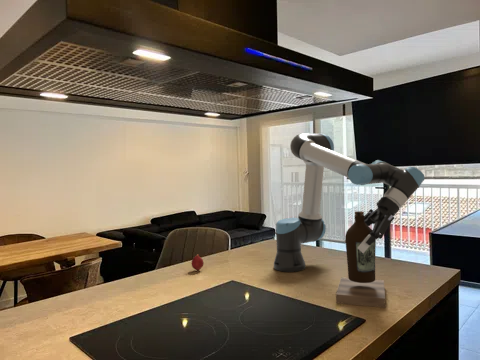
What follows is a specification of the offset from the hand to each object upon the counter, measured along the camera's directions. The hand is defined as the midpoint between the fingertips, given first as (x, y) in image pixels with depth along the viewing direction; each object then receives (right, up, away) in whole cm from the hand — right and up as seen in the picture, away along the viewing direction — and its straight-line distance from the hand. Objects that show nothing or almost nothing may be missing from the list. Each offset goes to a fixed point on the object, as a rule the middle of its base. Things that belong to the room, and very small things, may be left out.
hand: (352, 247), depth 128 cm
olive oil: (+3, -12, +1) cm, 13 cm away
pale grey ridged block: (+3, -18, +1) cm, 18 cm away
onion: (-62, -20, +42) cm, 77 cm away
